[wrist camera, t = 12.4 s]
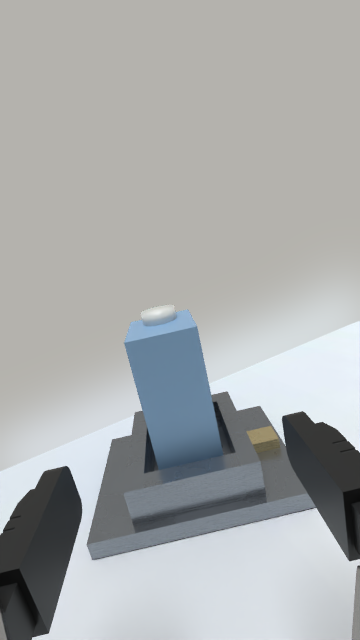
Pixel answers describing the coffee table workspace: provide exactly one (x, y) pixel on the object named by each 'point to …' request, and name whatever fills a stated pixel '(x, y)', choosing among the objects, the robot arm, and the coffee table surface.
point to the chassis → (194, 485)
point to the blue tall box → (173, 386)
